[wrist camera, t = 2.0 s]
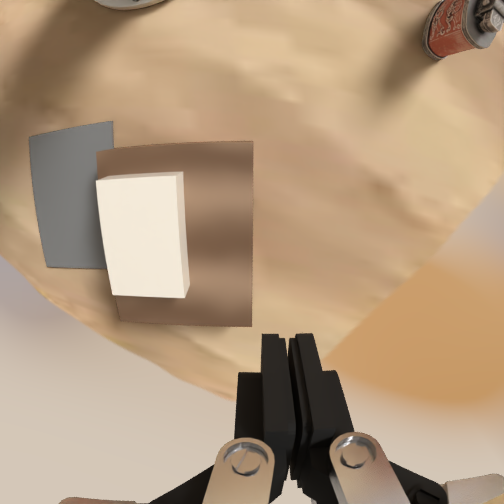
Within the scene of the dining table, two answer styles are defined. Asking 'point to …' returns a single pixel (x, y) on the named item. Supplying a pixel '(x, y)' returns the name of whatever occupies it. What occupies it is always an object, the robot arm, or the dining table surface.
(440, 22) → the lighter
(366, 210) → the dining table surface
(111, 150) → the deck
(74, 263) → the mat
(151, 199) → the tile
